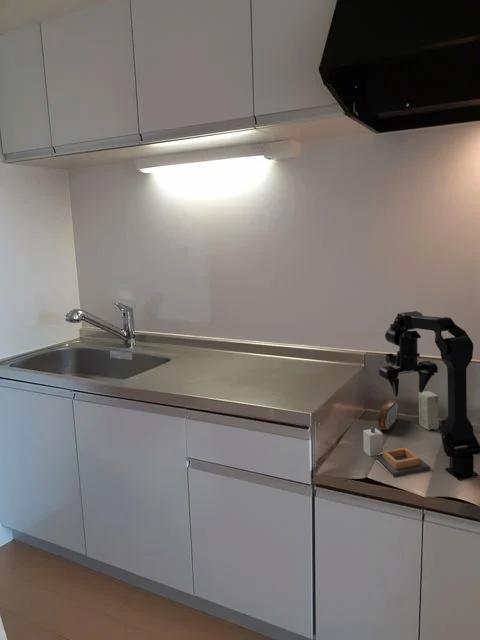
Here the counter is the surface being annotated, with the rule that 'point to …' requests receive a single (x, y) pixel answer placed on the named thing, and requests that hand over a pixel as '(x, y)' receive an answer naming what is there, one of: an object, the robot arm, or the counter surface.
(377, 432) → the light gray block
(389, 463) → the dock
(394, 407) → the tin
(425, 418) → the skincare box
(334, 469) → the counter surface
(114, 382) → the counter surface
